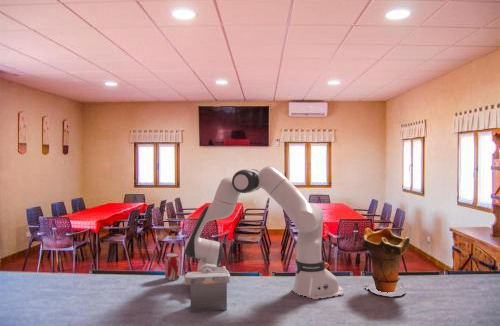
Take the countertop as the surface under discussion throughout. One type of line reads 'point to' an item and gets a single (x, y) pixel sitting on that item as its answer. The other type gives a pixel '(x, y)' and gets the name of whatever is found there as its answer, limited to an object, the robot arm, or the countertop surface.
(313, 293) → the robot arm
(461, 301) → the countertop surface
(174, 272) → the soda can
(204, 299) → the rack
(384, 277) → the decorative vase
